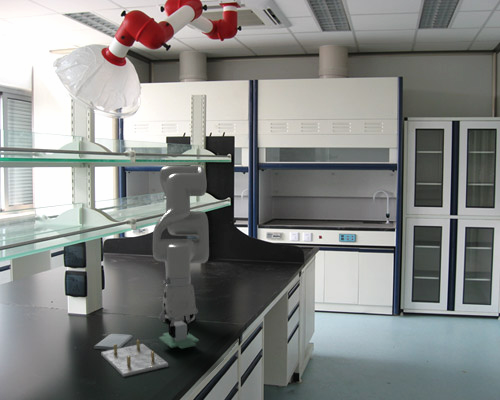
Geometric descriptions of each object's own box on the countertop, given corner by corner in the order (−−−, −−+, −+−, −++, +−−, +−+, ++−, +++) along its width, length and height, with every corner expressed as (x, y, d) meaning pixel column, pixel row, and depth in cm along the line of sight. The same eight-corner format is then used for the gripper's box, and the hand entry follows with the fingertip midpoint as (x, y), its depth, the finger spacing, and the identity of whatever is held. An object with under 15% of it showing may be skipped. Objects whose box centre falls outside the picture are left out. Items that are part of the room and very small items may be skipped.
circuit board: (156, 336, 176) (156, 320, 175) (182, 330, 181) (182, 315, 181) (174, 350, 164) (174, 332, 163) (202, 343, 170) (202, 327, 169)
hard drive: (117, 347, 171) (132, 334, 183) (94, 345, 172) (110, 333, 184) (117, 352, 171) (132, 339, 183) (94, 350, 172) (110, 337, 185)
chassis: (101, 355, 167) (101, 342, 167) (142, 346, 175) (142, 334, 174) (123, 376, 150) (123, 363, 150) (168, 366, 158) (168, 353, 158)
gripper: (159, 287, 163) (160, 344, 165) (206, 280, 172) (206, 333, 174) (150, 282, 169) (150, 336, 171) (195, 275, 178) (195, 327, 180)
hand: (178, 334), depth 172 cm, fingers closed on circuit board, 4 cm apart
